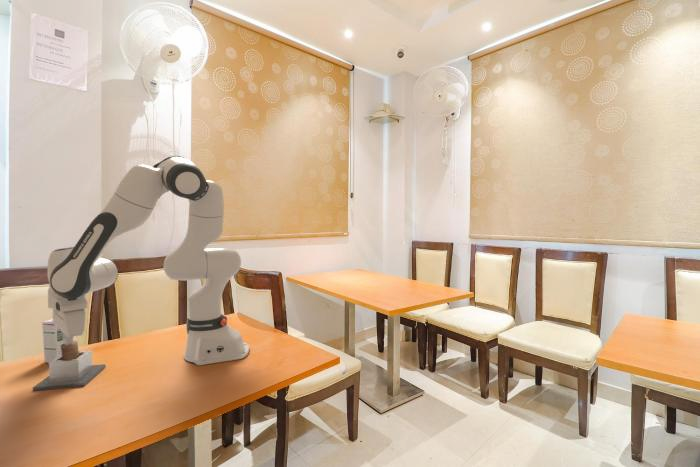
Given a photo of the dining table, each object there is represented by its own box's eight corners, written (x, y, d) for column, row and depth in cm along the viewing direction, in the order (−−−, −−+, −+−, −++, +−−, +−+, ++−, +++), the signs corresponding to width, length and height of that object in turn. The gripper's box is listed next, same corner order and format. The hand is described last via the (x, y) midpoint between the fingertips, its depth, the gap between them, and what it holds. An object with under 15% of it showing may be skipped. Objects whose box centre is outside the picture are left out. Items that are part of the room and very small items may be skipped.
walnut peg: (83, 372, 107) (80, 341, 106) (69, 378, 103) (65, 346, 103) (76, 371, 109) (73, 340, 108) (61, 376, 105) (57, 345, 104)
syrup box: (57, 364, 116) (55, 322, 115) (43, 362, 117) (41, 321, 116) (74, 357, 121) (72, 317, 121) (60, 355, 123) (59, 316, 122)
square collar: (105, 367, 114) (104, 346, 113) (84, 386, 101) (83, 363, 101) (60, 370, 111) (59, 349, 111) (32, 390, 98) (31, 367, 98)
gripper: (46, 295, 109) (46, 338, 109) (62, 307, 96) (62, 356, 96) (71, 292, 113) (71, 333, 114) (89, 303, 101) (89, 349, 101)
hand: (67, 343), depth 105 cm, fingers closed, pressing on walnut peg
